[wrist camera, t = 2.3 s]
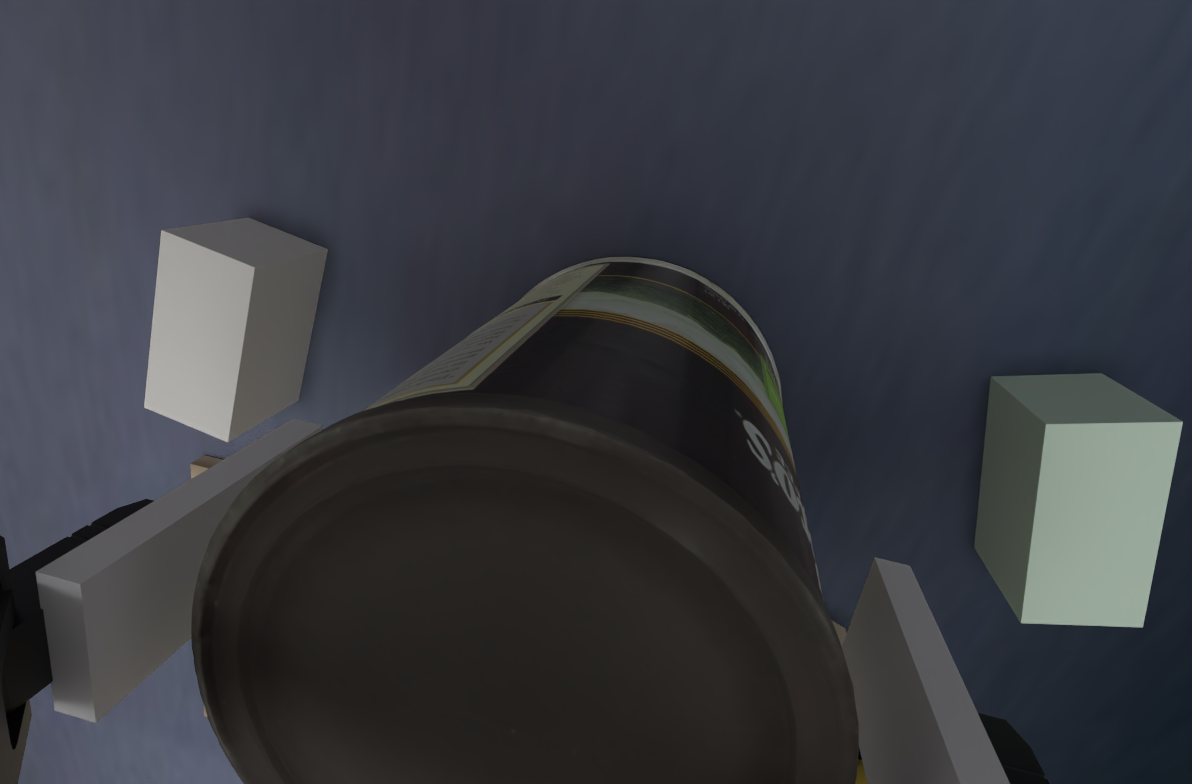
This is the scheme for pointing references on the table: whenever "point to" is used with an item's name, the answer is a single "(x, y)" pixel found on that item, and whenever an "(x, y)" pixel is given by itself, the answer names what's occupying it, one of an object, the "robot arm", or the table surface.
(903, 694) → the robot arm
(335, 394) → the table surface
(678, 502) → the coffee can
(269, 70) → the table surface
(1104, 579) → the pale green brick
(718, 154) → the table surface
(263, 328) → the off-white brick
